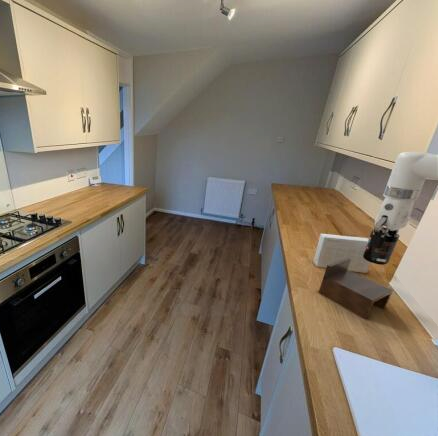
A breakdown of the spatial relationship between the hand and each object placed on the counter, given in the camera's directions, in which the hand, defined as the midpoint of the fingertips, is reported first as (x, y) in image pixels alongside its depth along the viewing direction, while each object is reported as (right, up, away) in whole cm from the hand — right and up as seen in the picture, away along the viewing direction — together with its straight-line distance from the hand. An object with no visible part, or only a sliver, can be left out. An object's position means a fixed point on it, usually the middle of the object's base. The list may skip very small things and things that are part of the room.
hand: (381, 244), depth 79 cm
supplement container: (0, -6, +2) cm, 6 cm away
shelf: (+1, -23, +13) cm, 27 cm away
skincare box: (+15, -15, +36) cm, 42 cm away
